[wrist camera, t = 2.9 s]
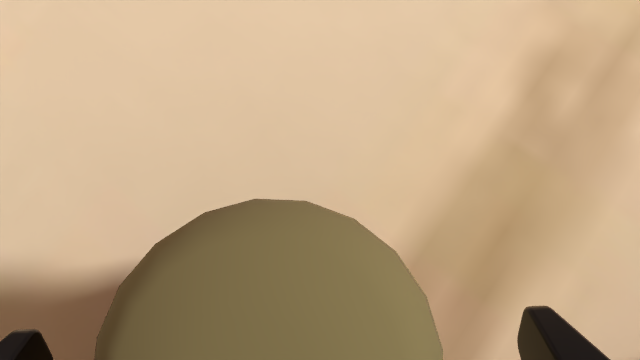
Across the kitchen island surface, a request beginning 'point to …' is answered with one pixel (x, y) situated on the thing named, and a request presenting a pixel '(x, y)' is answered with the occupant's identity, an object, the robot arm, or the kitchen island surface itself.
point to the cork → (270, 292)
